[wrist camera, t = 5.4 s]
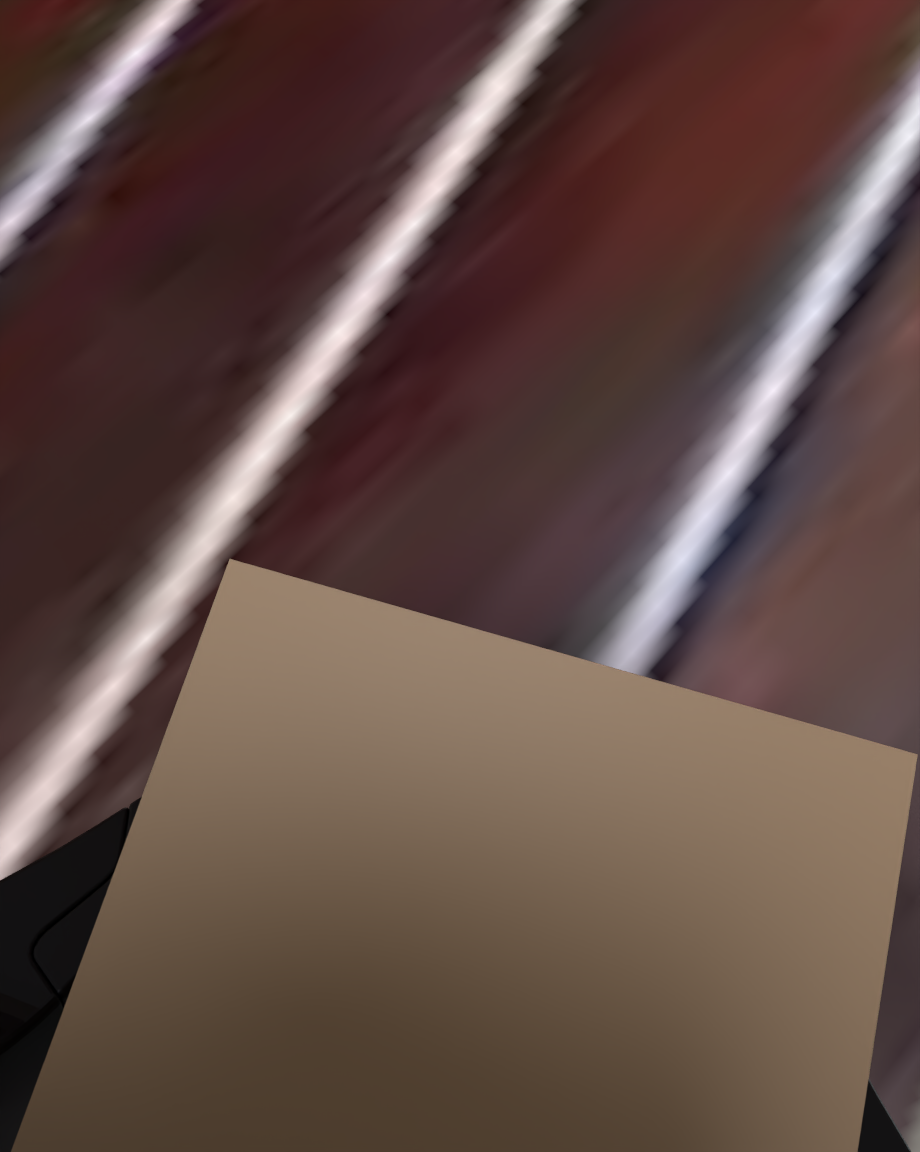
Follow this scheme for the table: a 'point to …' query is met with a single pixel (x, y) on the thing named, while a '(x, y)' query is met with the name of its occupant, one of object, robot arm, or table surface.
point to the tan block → (475, 906)
